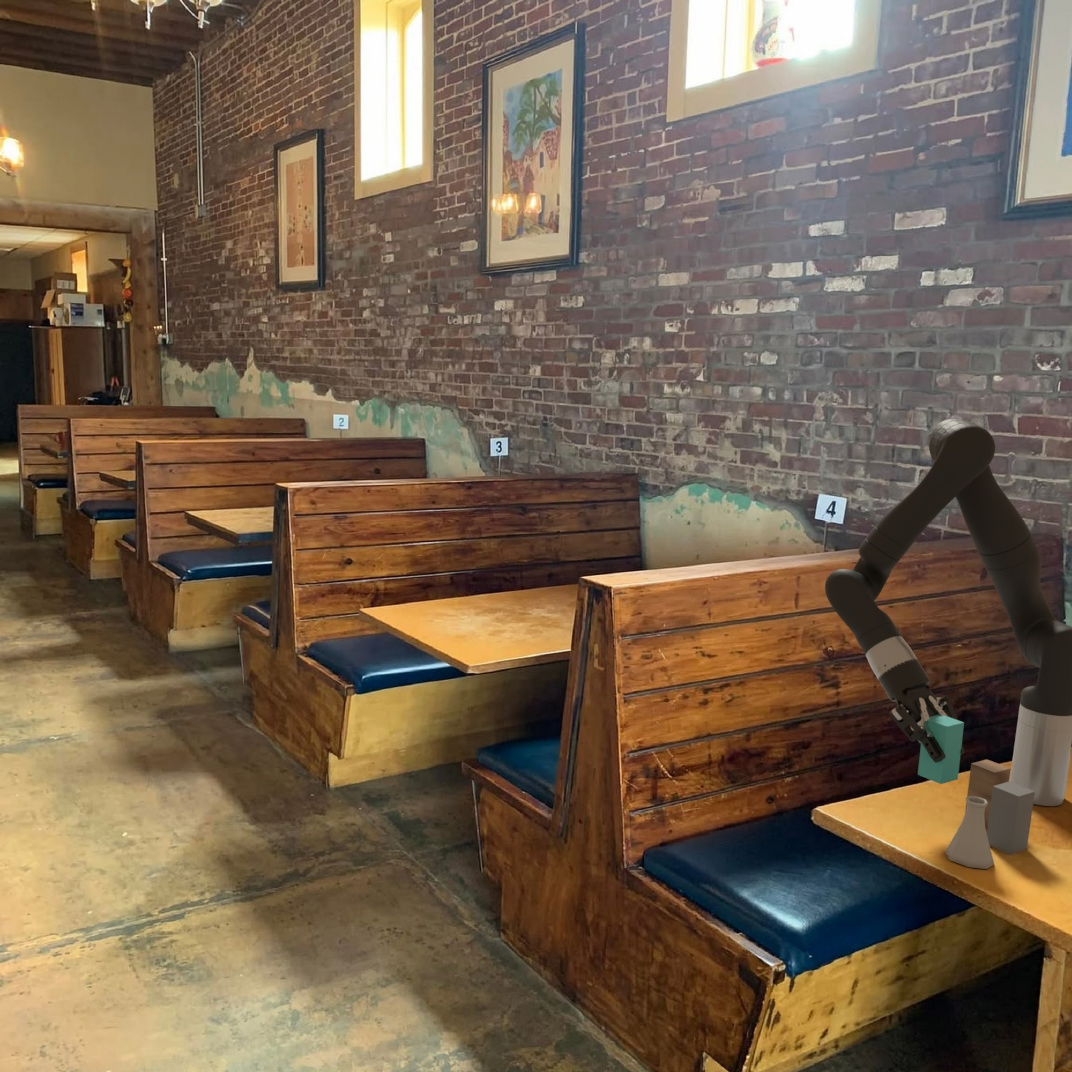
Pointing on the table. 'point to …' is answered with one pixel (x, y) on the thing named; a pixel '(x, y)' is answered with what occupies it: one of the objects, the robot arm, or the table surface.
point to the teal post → (950, 742)
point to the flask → (972, 837)
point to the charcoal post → (1010, 817)
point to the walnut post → (986, 781)
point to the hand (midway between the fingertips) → (950, 757)
